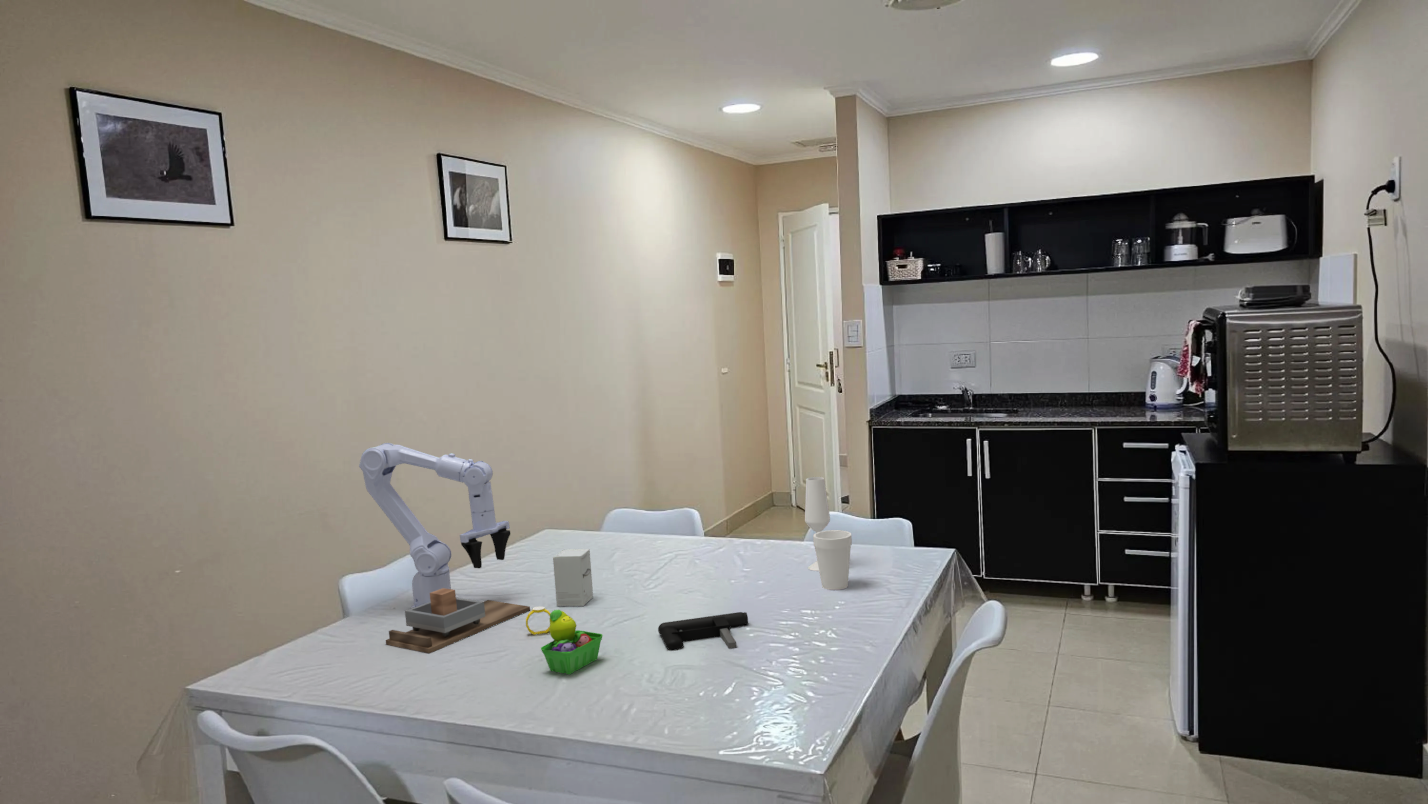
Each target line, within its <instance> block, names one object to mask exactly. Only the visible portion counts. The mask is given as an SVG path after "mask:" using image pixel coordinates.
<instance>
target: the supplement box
mask: <svg viewBox="0 0 1428 804" xmlns="http://www.w3.org/2000/svg"><path fill="white" fill-rule="evenodd" d="M590 552H591V551H590V548H580V549H579V548H578V549H577V548H574V549H563V550H561V551H560V552H557V554H555V555H554V556H553V557H552V560H553V561H552V562H553V563H552V564H553V573H554V574H553V575H554V586H555V587H554V588H555V600H556V601H555V602H556V606H557V607H584V606H585V605H587V603H588V602H589V601H591V600H592V599H593V598H594V590H593V576H592V575H593V574H592V564H591V563H592V562H591V553H590Z"/></svg>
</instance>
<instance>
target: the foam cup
mask: <svg viewBox="0 0 1428 804" xmlns="http://www.w3.org/2000/svg"><path fill="white" fill-rule="evenodd" d="M852 536H853V535H852V532H850V531H847V530H837V529H833V530H832V529H831V530H822V531H821V532H817V533H816V532H815V533H813V536H812V540H813V547H814V551H815V556H816V559H817V560H816V561H817V562H818V567H819V571H818V572H819V576H820V582H821V586H822V588H823V589H824V590H827V591H828V590H829V591H839V590H844V589H846V588H848V585H849V574H850V561H851V550H852V549H851V548H852V547H851V546H852V543H853V538H852Z"/></svg>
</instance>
